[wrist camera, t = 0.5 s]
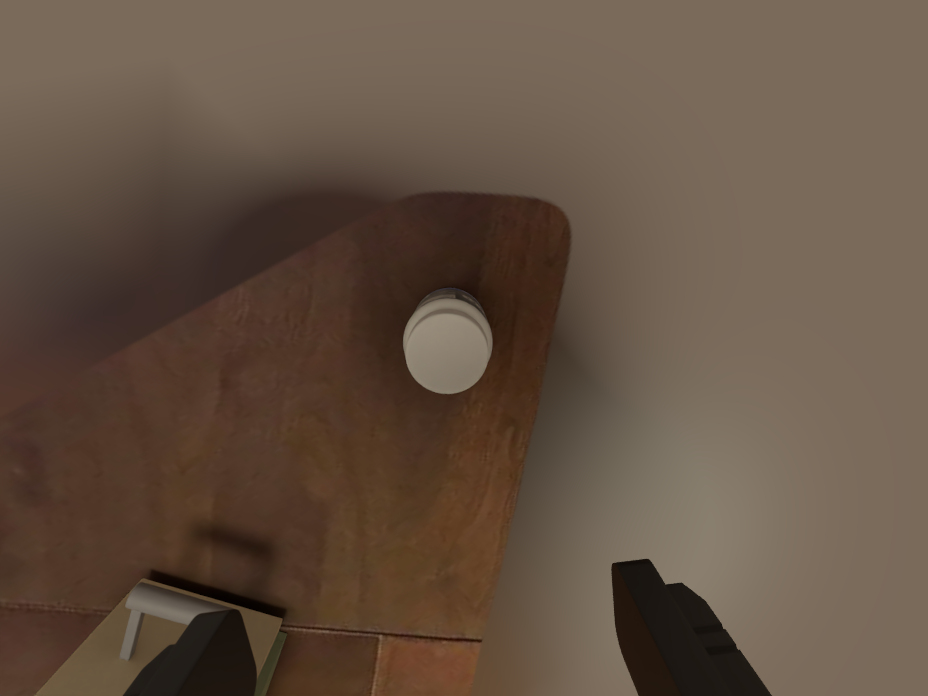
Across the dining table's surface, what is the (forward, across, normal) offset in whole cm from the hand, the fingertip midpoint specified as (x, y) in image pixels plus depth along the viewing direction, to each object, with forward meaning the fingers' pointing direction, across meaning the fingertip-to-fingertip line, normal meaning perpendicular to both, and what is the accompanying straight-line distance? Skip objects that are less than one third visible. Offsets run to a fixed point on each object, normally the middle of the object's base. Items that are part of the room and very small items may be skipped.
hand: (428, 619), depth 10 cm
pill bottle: (+21, 0, -3) cm, 21 cm away
